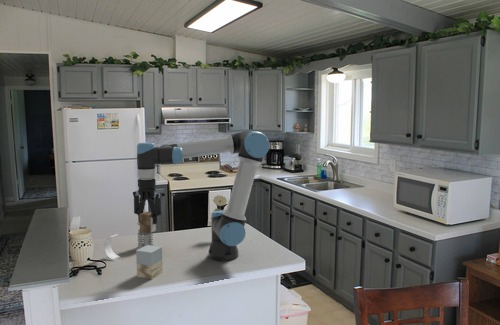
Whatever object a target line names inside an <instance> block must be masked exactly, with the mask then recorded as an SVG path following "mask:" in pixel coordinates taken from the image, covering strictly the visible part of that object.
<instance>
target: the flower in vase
mask: <svg viewBox="0 0 500 325" xmlns="http://www.w3.org/2000/svg"><path fill="white" fill-rule="evenodd" d="M212 202H213V203H214V205H216V206H218V207H221V206H225V205H227V204H228V199H227V197H226V196H223V195H221V194H220V195H215V196H214V197H213V199H212ZM221 210H222V209H221V208H215V209H214V210H213V212H214V211H221Z"/></svg>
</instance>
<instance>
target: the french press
mask: <svg viewBox="0 0 500 325" xmlns="http://www.w3.org/2000/svg"><path fill="white" fill-rule="evenodd" d="M145 205H147V203H146V202H145ZM145 208H146V207H144V212H146V211H145V210H146V209H145ZM144 212H143V213H144ZM136 225H137V226H140V223H139V222H137V223H136ZM137 231H138V232H137V242H138V243H137V247H136V248H135V249H136V250H138V249H140V248H142V247H144V246H146V245H151V246H155V245H154V234H153V232H151V233H144V232H140V229H138V230H137Z"/></svg>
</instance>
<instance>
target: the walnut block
mask: <svg viewBox="0 0 500 325" xmlns="http://www.w3.org/2000/svg"><path fill="white" fill-rule="evenodd" d="M151 216H152V214H151V211H145V212H143V213H141V214H139V219H140V225H139V230H140V232H144V233H151V221H150V217H151Z"/></svg>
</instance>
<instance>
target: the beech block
mask: <svg viewBox="0 0 500 325" xmlns="http://www.w3.org/2000/svg"><path fill="white" fill-rule="evenodd" d="M163 264H164V263H163V259H162V260H161V261H160V262H158V263H156V264H155V265H153V266H148V265H142V264H137V263H136V276H137V278H142V279H148V280H149V279H150V280H154V279H155V278H157V277H159V276H160V275H162V274H163V272H164V271H163V270H164V269H163V267H164V266H163Z"/></svg>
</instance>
